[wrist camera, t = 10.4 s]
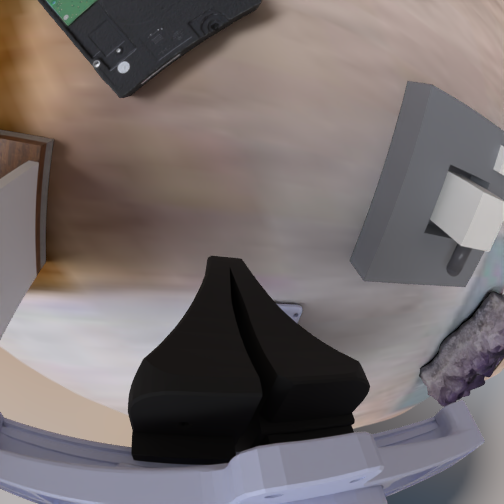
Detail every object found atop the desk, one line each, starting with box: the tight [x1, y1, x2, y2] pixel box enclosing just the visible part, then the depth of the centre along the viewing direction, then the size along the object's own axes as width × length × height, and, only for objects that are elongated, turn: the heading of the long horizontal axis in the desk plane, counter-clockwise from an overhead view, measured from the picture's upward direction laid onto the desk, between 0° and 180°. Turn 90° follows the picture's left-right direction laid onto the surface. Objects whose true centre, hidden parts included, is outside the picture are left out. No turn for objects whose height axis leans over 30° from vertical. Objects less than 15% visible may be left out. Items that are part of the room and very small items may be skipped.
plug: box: [430, 170, 504, 277], centre depth 22 cm, size 8×4×6 cm, turn 169°
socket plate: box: [350, 81, 504, 287], centre depth 22 cm, size 16×14×4 cm
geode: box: [419, 292, 504, 407], centre depth 34 cm, size 20×12×10 cm, turn 150°
